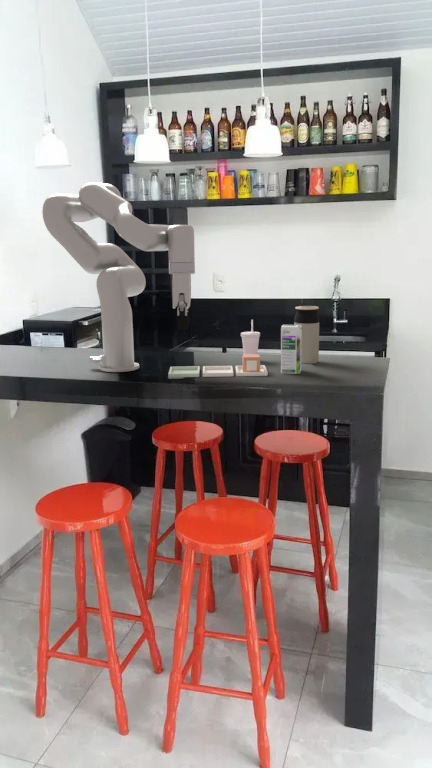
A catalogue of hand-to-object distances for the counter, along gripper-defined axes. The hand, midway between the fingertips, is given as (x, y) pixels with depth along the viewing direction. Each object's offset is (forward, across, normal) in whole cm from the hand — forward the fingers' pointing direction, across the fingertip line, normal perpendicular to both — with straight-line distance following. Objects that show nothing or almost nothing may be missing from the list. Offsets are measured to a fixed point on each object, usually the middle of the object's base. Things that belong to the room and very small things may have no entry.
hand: (183, 327), depth 191 cm
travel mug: (+14, -17, +39) cm, 45 cm away
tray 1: (+14, 0, 0) cm, 14 cm away
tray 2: (+14, 0, +10) cm, 17 cm away
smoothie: (+14, -19, +21) cm, 32 cm away
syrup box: (+14, 0, +32) cm, 35 cm away
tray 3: (+14, 0, +20) cm, 25 cm away
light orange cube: (+14, 0, +20) cm, 24 cm away
